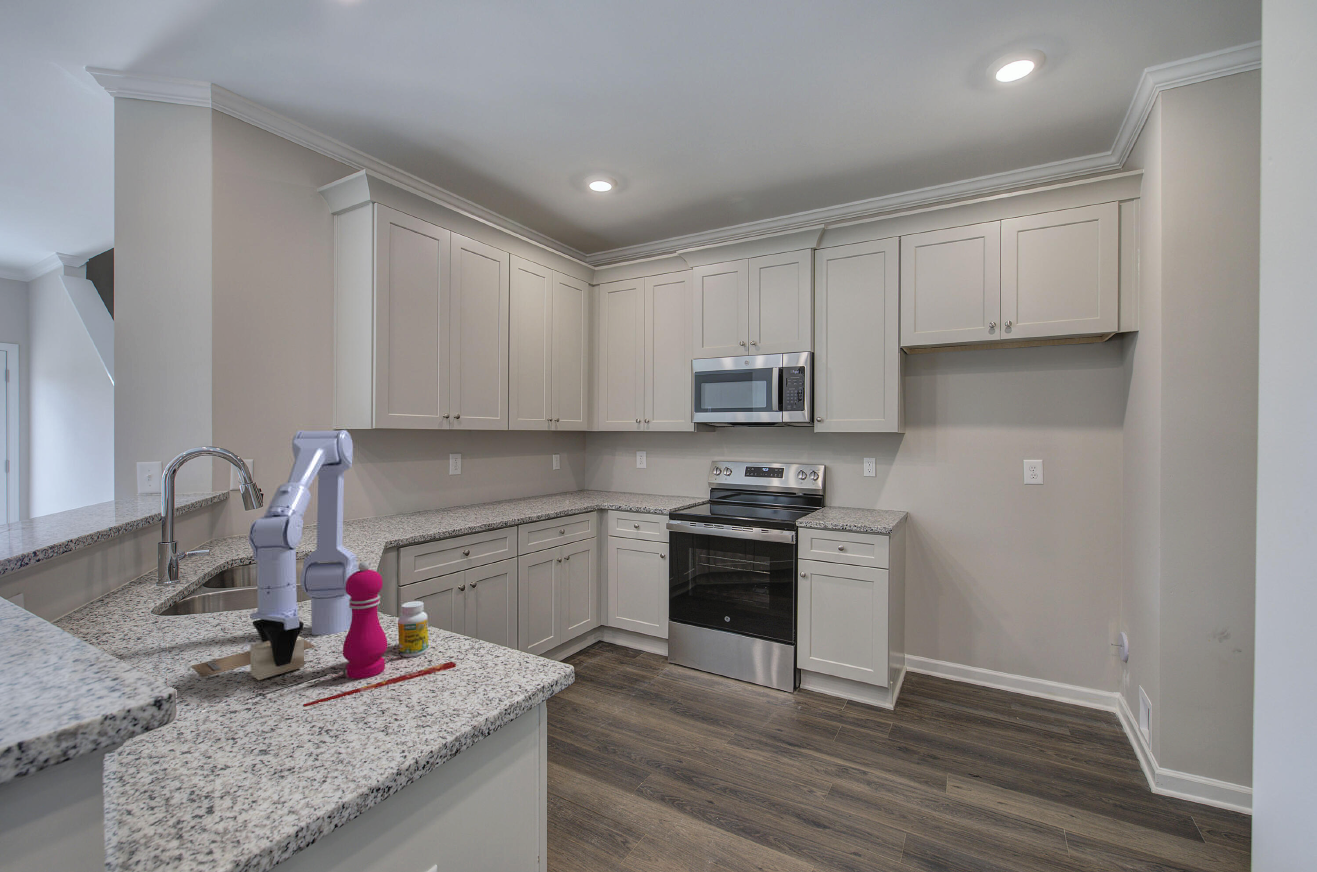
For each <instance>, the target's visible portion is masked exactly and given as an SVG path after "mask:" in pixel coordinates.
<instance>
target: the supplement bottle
mask: <svg viewBox="0 0 1317 872" xmlns="http://www.w3.org/2000/svg"><path fill="white" fill-rule="evenodd" d="M400 606H401V607H400V608H401V610H400V612H401V613H402V614H401V615H399V617H398V620H397V629H398V630H397V631H398V650H399V652H398V654H399V656H401V657H403V658H414V657H418V656H421V655H422V656H423V655H424V654H426V653H427V652H428V650H429V622H428V614H427V613H426V612H425V611H424V608H425V607H424V602H423V601H418V600H416V601H409V602H405V603H403V604H401V605H400Z"/></svg>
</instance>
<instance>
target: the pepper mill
mask: <svg viewBox="0 0 1317 872" xmlns="http://www.w3.org/2000/svg"><path fill="white" fill-rule="evenodd" d="M383 582H384V581H383V577H382V575H381V574H380V573H379V572H377V571H376V570H372V569H370V563H369V562H367V561H362V562H360V563H359V565H358V571H357V572H355V573H353V574H352V575H350V576H349V578H348V579H347V581H346V587H345V588H346V592H347V594H348V595H349V596H350V597H351V598H350V599H349V602H350V604H349V607H350V608H352V621H351V626H350V629H348V632H347V634H346V637H345V638H344V643H343V645H342V656H343V658H344V659H345V660H347V664H346V666H345V670H346V671H345V675H346V677H347V678H350V679H352V680H353V679H354V680H361V679H367V678H372V677H375V676H377V675H380V674H381V673H383V672H384V671H385V668H386V662H385V661H386V659H385V658H384V657H383V655H384V654H385V653H386V651H387V649H388V639H387V636H386V633H385V631H384V629H383V627H382V625H381V623H380V619H379V615H378V607H379V606H378V605H379V604H380V603H381V600H380V598H381V597H380V596H381V595H379V593H380V592H381V590H382V588H383V585H384V584H383Z"/></svg>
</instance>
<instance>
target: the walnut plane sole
mask: <svg viewBox="0 0 1317 872" xmlns="http://www.w3.org/2000/svg"><path fill="white" fill-rule="evenodd" d="M316 647H317V646H316V645H314V644H313V643H311V642H309V641H307V640H306V639H304V651H305V650H309V649H312V648H316ZM246 666H251V656H250V650H247V651H244V652H239V653H235V654H231V655H228V656H224V657H219V658H216V659H212V660H208V661H205V662H200V663H196V664H192V665H190V667H191V668H192V669H193V670H194V671H196V673H197V674H199V676H200V677H201V678H206V677H209V676H213V675H216V674H220V673H224V672H228V671H231V670H235V669H239V668H243V667H246Z"/></svg>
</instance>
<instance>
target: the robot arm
mask: <svg viewBox="0 0 1317 872" xmlns="http://www.w3.org/2000/svg"><path fill="white" fill-rule="evenodd" d="M291 448H292V450H291V451H292V453H293V457H294V461H293V465H292V468H291V470H290V474H289V477H288V479H287V483H283V484H281V485H279V486H278V487H277V489H276V491H275V493H273V497H272V499H271V500H270V503H269V505H268V507H267V509H266V511H265V513H264V514H263V516H262V517H260V518H258V519H257V520H254V521H253V522H252V524H251V525H250V529H249V535H248V542H249V546H250V548H251V549H252V558H253V560H254V561H256V578H257V579H256V581H257V583H256V585H257V588H256V589H257V611H256V612H252V613H250V614H249V619H251V620H253V621H252V623H251V624H252V625H253V627H254V628H255V629H256V631H257V633H258V635H259V637H260V640H261V643H262V642H266V641H270V643H271V647H272V652H273V658H274V662H275V664H276V666H277V667H279V666H282V665H286V664H289V663H290V662H291V659H292V655H293V651H294V647H295V643H296V640H297V637H298V636H299V635H300V633H301V631H302V630H303V628H304V626H305V625H304V624H305V623H304V622H303V621H300V615H299V614H298V613H299V606H298V603H297V601H298V600H297V597H298V596H297V560H296V559H297V556H296V555H297V551H296V548H297V547H298V546H299V545H300V542H301V541H302V536H303V526H304V520H303V517H304V515H305V512H306V510H307V508H308V506H309V504H310V501H311V498H312V495H311V492H310V490H309V488H310V486H311V485H312V482H313V481H314V479H315V478H316V476H317V477H318V478H317V479H318V480H317V481H318V482H317V510H316V511H317V514H316V516H317V518H316V549H314V551H312V552H311V553H309V554H308V555H307V556H305V558H304V559H303V564H302V571H301V573H300V579H299V580H300V581H299V582H300V587H301V589H302V590H303V592H304V593H305V594H307V597H308V598H310V607H311V609H310V612H311V613H310V614H311V615H310V616H311V620H310V621H311V623H310V624H311V634H312V635H315V636H330V635H335V634H339V633H342V632H343V633H344V632H345V631H349V629H350V626H351V621H352V608H350V607H349V604H350V602H349V599H350V598H351V597H350V596H349V595H348V594H347V592H346V588H345V587H346V581H347V579H348V578H349V576H350V575H352V574H353V573H355V572H357V571H359V566H358V562H357V561H358V559H357V555H356V553H354V552H352V551H351V550H349V549H348V548H346V547H345V546H344V543H343V536H344V531H343V530H344V497H345V495H344V494H345V493H344V492H345V491H344V487H345V471H347V470H349V469H351V468H352V466H353V465H352V464H353V458H354V457H353V456H354V455H353V450H354V449H353V440H352V437H351V434H350V433H349V432H348V431H347V430H346V429H343V430H297V432H296V433H295V434H294V435H293V438H292V442H291Z"/></svg>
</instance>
